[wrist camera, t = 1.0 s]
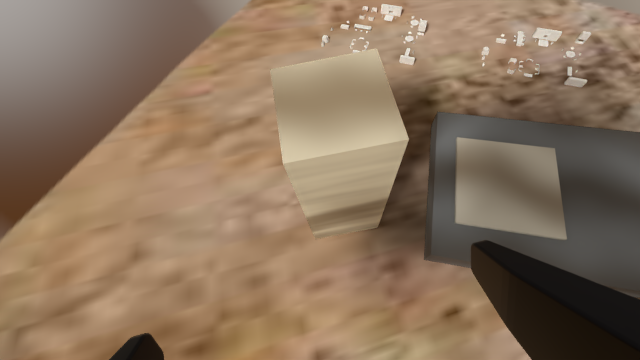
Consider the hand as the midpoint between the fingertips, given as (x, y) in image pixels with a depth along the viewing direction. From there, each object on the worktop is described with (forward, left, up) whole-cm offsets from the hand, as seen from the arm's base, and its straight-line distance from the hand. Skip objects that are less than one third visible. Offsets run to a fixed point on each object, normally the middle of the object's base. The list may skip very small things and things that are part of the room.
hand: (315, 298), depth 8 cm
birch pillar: (+4, -6, -15) cm, 16 cm away
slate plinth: (-7, -16, -14) cm, 23 cm away
